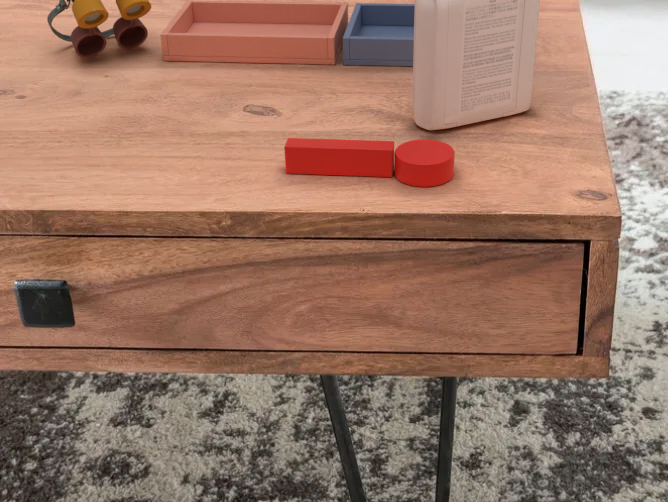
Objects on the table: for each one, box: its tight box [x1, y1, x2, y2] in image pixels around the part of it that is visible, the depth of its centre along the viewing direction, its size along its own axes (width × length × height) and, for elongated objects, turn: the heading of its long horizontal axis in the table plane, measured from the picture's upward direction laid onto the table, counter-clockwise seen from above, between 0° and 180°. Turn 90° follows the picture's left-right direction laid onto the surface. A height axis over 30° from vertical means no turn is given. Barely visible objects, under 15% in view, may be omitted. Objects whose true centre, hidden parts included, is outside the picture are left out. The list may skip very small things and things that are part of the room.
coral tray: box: [159, 0, 349, 66], centre depth 101 cm, size 16×10×2 cm, turn 83°
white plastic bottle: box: [412, 0, 541, 131], centre depth 83 cm, size 10×4×12 cm, turn 116°
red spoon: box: [283, 137, 455, 188], centre depth 78 cm, size 12×4×2 cm, turn 83°
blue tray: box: [342, 2, 415, 67], centre depth 99 cm, size 16×10×2 cm, turn 83°
